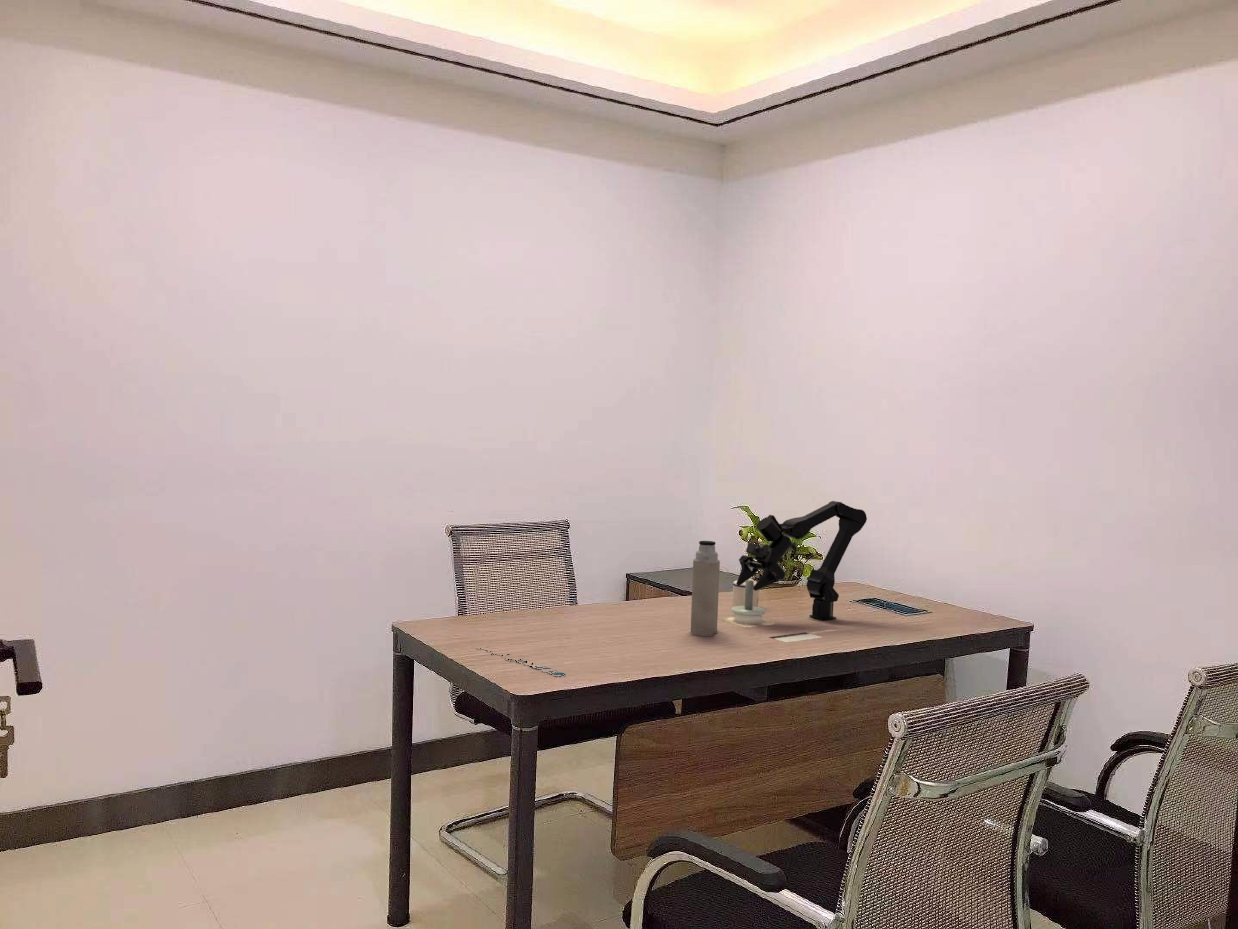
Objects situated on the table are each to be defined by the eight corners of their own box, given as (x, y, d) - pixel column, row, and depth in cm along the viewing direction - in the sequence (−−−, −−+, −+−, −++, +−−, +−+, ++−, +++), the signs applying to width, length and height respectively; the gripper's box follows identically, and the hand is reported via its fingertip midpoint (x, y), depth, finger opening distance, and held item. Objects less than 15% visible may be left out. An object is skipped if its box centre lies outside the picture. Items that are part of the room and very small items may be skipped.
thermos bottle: (694, 629, 315) (697, 538, 313) (719, 632, 312) (723, 540, 311) (687, 634, 307) (691, 541, 306) (713, 637, 305) (717, 543, 303)
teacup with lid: (763, 611, 348) (765, 577, 347) (740, 612, 344) (742, 578, 343) (744, 604, 358) (746, 571, 358) (722, 605, 354) (723, 572, 354)
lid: (762, 608, 330) (764, 578, 330) (768, 615, 319) (769, 584, 319) (728, 607, 330) (730, 577, 329) (733, 614, 319) (734, 583, 318)
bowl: (749, 617, 331) (749, 608, 331) (768, 622, 323) (768, 613, 323) (727, 619, 326) (728, 610, 326) (746, 625, 318) (746, 615, 318)
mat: (788, 628, 320) (788, 627, 320) (822, 638, 308) (822, 637, 308) (751, 633, 312) (751, 632, 312) (785, 643, 299) (785, 642, 299)
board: (749, 618, 334) (750, 615, 334) (779, 626, 323) (779, 623, 323) (716, 622, 327) (716, 619, 327) (745, 630, 315) (745, 627, 315)
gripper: (744, 530, 333) (715, 565, 329) (779, 537, 317) (748, 575, 312) (763, 553, 337) (734, 588, 333) (798, 562, 321) (768, 599, 316)
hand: (745, 587), depth 323 cm, fingers open, 9 cm apart
